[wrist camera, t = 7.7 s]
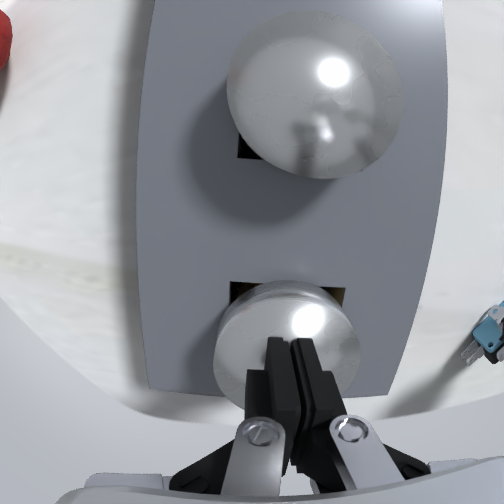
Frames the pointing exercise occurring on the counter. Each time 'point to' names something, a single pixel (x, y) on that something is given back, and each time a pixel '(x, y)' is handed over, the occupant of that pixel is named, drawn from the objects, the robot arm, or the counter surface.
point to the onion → (5, 38)
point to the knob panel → (279, 193)
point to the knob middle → (314, 94)
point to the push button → (488, 337)
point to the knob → (282, 332)
